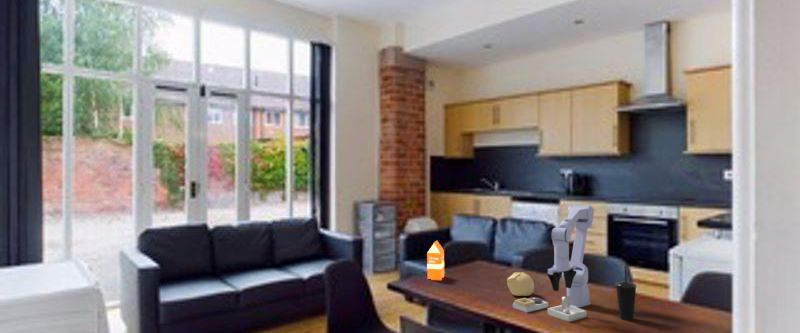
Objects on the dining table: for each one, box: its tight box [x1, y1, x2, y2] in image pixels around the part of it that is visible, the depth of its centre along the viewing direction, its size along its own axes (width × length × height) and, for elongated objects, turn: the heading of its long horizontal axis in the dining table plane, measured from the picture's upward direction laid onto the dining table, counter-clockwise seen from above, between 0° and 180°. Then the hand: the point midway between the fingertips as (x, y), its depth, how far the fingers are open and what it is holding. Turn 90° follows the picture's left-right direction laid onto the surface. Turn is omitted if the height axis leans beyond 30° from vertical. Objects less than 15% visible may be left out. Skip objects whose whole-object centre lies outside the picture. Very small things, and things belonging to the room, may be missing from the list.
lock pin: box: [561, 295, 570, 315], centre depth 191 cm, size 3×3×7 cm
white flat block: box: [512, 296, 549, 313], centre depth 203 cm, size 13×8×4 cm, turn 120°
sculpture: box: [506, 271, 535, 297], centre depth 222 cm, size 12×12×11 cm
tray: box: [547, 304, 587, 323], centre depth 191 cm, size 11×11×3 cm
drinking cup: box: [614, 267, 637, 321], centre depth 187 cm, size 8×8×20 cm
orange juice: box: [426, 240, 445, 281], centre depth 257 cm, size 8×9×20 cm
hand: (562, 289), depth 193 cm, fingers open, 7 cm apart
